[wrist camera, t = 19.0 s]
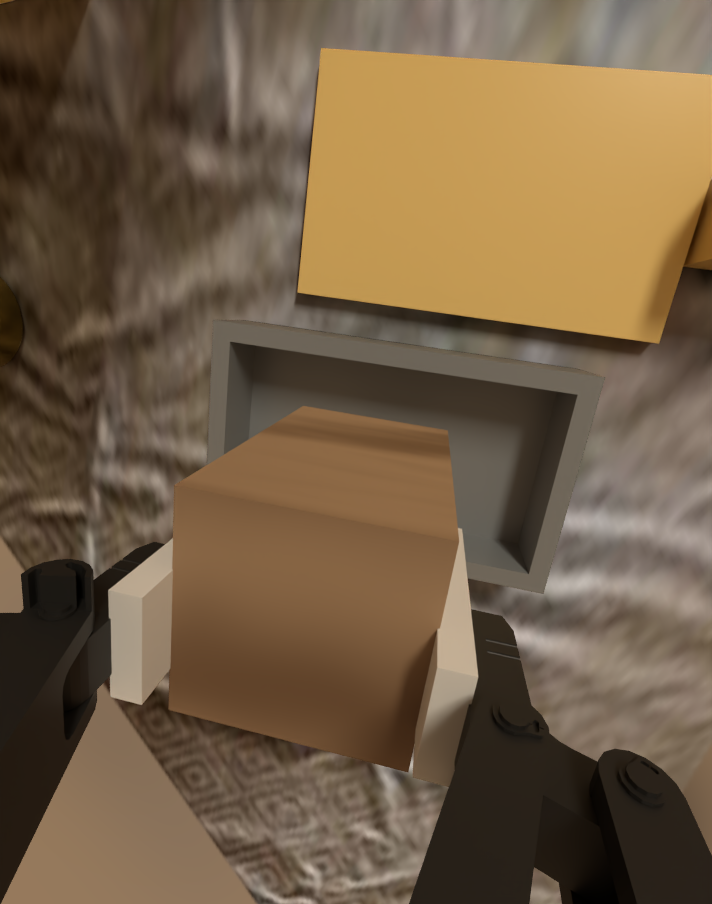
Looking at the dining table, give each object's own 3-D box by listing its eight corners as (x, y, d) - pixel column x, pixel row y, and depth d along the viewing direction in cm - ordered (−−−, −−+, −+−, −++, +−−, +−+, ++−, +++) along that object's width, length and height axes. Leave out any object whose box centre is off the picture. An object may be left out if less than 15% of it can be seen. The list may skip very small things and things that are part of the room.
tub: (246, 320, 29) (213, 319, 25) (578, 368, 27) (605, 377, 22) (235, 497, 32) (204, 523, 28) (528, 555, 30) (543, 593, 26)
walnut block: (303, 405, 19) (174, 485, 10) (447, 430, 19) (459, 541, 9) (289, 535, 21) (168, 709, 12) (421, 562, 20) (408, 772, 11)
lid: (325, 58, 25) (298, -5, 20) (853, 96, 22) (970, 31, 17) (302, 293, 28) (274, 287, 23) (755, 357, 25) (829, 365, 20)
